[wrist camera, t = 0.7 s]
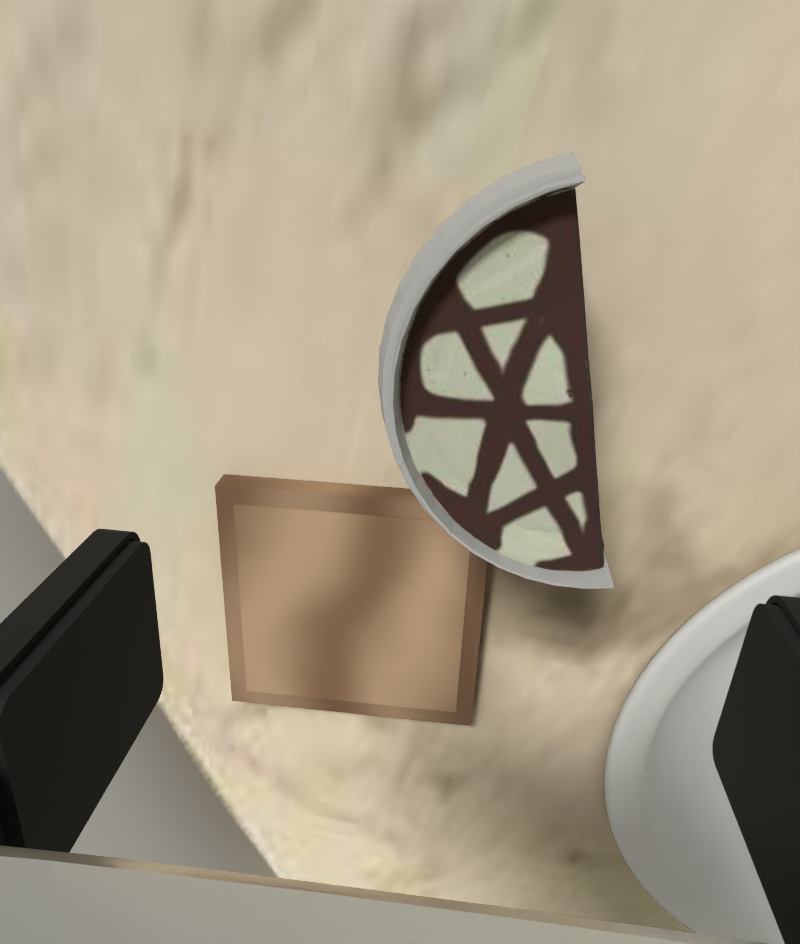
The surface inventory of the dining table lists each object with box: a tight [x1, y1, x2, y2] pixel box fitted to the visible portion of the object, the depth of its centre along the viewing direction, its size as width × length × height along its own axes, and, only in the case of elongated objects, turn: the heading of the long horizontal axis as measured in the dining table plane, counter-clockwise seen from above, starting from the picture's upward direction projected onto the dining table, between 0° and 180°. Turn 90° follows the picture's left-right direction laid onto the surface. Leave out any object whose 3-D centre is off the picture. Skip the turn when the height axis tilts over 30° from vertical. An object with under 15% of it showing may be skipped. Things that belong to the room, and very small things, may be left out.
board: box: [215, 474, 488, 726], centre depth 33 cm, size 12×12×1 cm
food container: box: [378, 152, 614, 589], centre depth 24 cm, size 12×6×10 cm, turn 10°
